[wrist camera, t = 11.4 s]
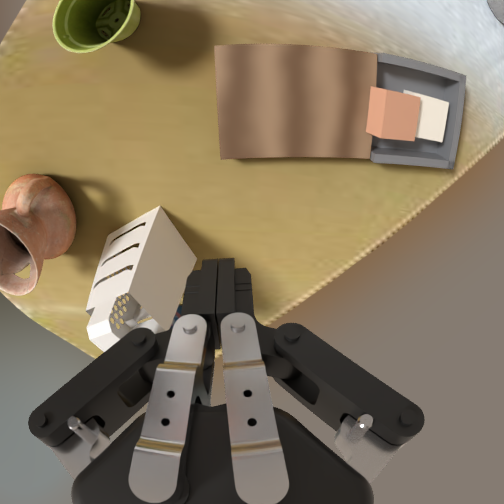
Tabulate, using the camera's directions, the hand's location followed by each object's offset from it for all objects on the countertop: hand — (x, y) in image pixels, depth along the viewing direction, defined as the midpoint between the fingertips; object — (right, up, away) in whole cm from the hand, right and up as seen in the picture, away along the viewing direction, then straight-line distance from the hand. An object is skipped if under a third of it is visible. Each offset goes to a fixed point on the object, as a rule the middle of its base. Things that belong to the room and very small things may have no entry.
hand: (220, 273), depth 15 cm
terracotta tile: (+19, +19, +18) cm, 32 cm away
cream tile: (+25, +20, +20) cm, 38 cm away
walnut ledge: (+7, +20, +19) cm, 29 cm away
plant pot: (-15, +30, +11) cm, 35 cm away
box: (+23, +21, +20) cm, 37 cm away
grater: (-14, +2, +31) cm, 34 cm away
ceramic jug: (-31, +8, +25) cm, 41 cm away
